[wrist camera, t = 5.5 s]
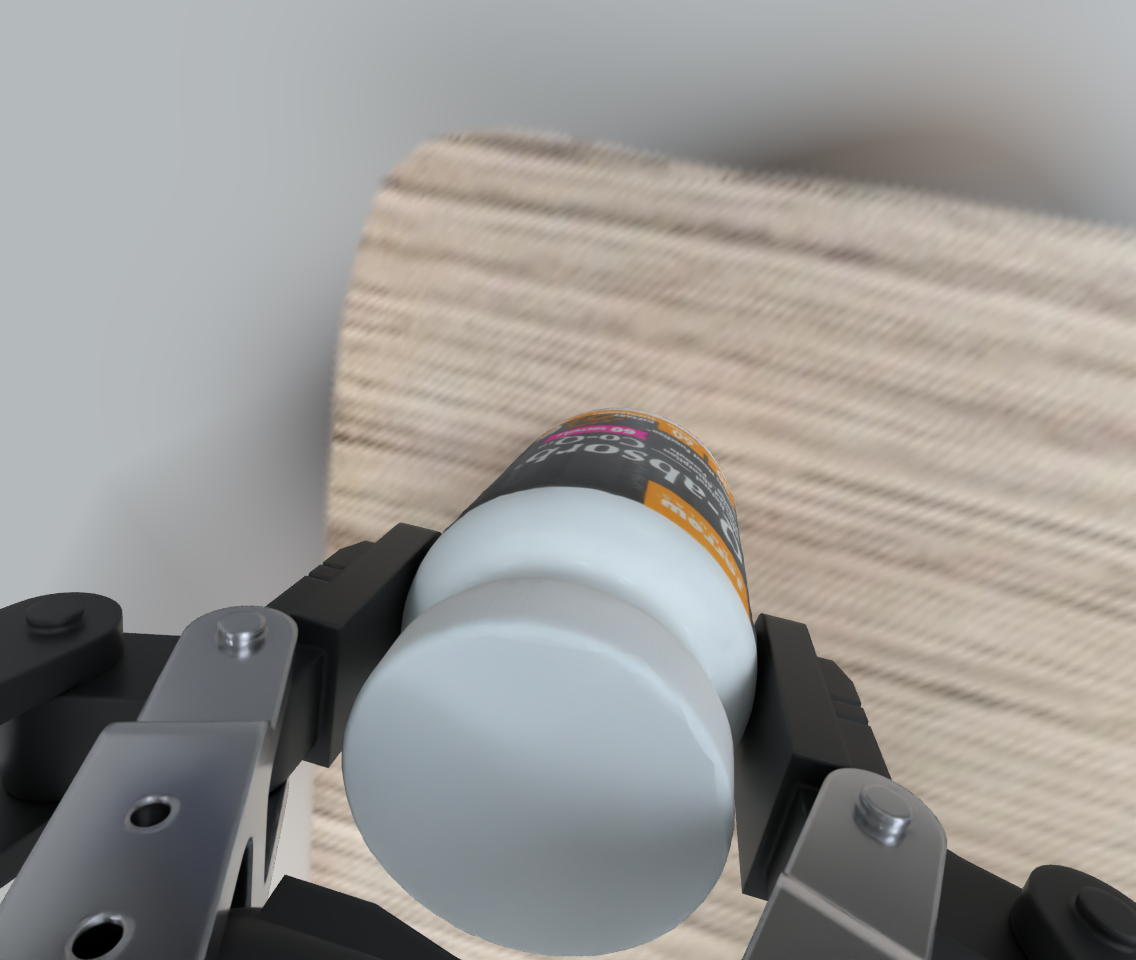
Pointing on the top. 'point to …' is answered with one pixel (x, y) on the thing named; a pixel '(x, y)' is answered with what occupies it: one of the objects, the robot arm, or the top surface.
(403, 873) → the pill bottle
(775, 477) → the top surface
